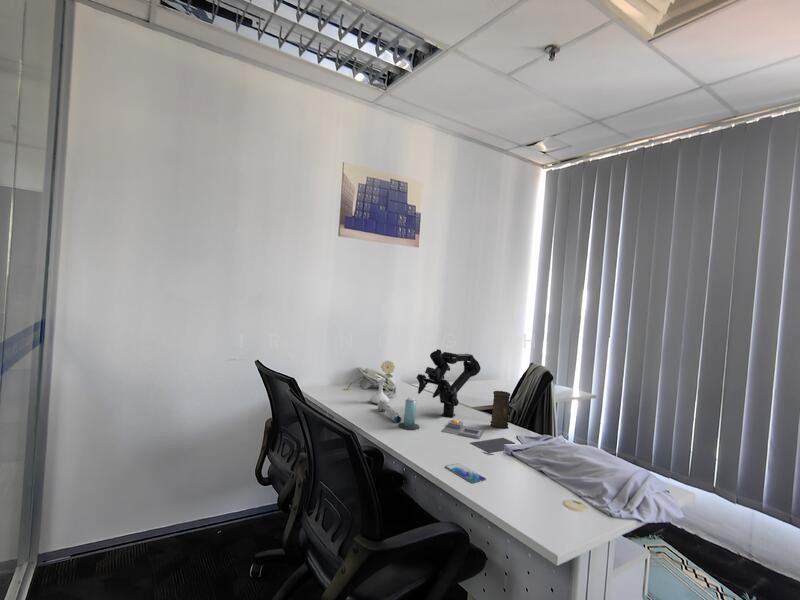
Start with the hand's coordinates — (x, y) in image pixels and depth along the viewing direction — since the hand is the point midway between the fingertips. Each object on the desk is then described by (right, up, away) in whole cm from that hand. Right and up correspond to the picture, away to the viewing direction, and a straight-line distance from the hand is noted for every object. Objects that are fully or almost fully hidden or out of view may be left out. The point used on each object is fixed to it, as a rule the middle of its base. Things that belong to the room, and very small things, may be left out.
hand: (425, 395), depth 210 cm
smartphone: (+11, -15, -59) cm, 62 cm away
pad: (-9, -13, -9) cm, 18 cm away
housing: (+17, -15, -12) cm, 26 cm away
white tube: (-19, -12, +6) cm, 23 cm away
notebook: (+29, -17, -28) cm, 44 cm away
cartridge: (-9, -12, -9) cm, 18 cm away
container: (+37, -17, +1) cm, 41 cm away
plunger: (+14, -14, -6) cm, 21 cm away
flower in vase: (-24, -12, +31) cm, 41 cm away
